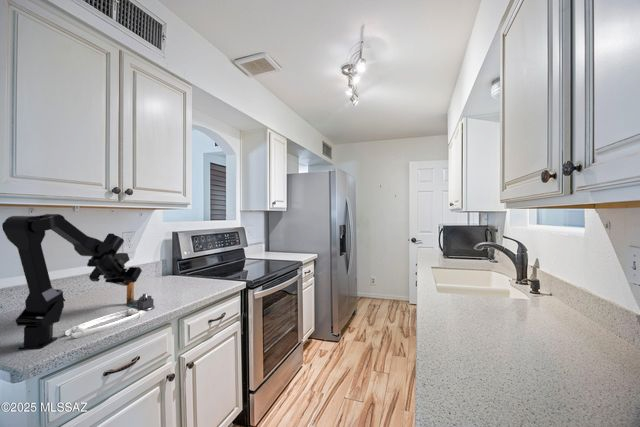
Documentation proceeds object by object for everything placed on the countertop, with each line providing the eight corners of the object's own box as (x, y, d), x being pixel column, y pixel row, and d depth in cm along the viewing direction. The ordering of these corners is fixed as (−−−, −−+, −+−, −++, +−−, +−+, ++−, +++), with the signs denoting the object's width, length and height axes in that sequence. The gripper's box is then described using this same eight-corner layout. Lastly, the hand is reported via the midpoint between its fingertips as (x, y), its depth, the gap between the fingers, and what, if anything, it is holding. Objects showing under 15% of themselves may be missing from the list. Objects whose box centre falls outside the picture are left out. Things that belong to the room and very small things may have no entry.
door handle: (58, 337, 94) (133, 312, 117) (77, 342, 90) (150, 316, 114) (58, 328, 94) (133, 305, 117) (77, 334, 90) (150, 309, 114)
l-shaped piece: (153, 307, 122) (154, 272, 122) (142, 310, 118) (143, 274, 118) (133, 301, 129) (134, 268, 129) (122, 304, 125) (123, 270, 125)
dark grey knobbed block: (150, 311, 118) (150, 296, 118) (131, 311, 117) (131, 296, 117) (157, 305, 125) (157, 291, 125) (140, 306, 124) (140, 292, 124)
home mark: (138, 304, 125) (138, 304, 125) (131, 306, 123) (131, 306, 123) (134, 303, 127) (134, 302, 127) (127, 305, 124) (127, 304, 124)
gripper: (139, 247, 119) (155, 269, 130) (95, 246, 120) (114, 268, 131) (125, 271, 111) (143, 291, 122) (78, 269, 112) (100, 290, 123)
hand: (125, 284), depth 125 cm, fingers closed
